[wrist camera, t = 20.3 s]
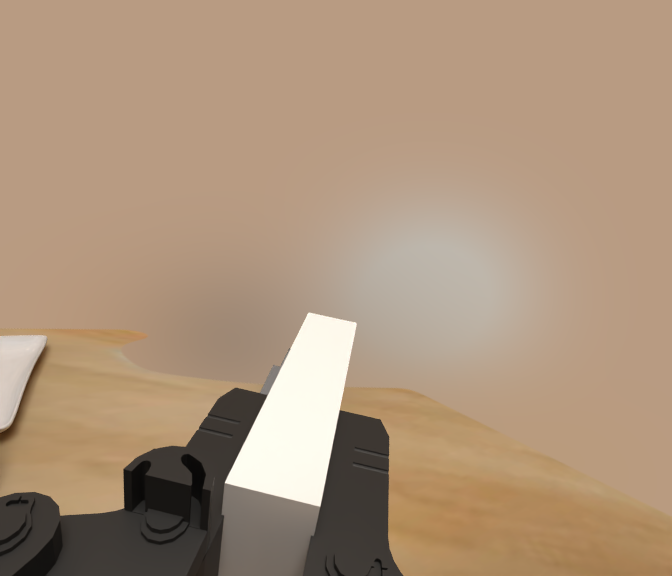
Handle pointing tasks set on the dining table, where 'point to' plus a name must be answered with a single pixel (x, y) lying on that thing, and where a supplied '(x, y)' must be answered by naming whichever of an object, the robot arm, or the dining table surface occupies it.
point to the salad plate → (16, 371)
